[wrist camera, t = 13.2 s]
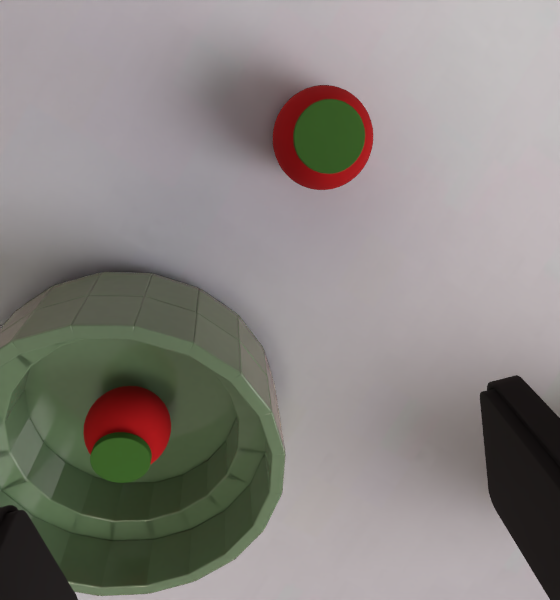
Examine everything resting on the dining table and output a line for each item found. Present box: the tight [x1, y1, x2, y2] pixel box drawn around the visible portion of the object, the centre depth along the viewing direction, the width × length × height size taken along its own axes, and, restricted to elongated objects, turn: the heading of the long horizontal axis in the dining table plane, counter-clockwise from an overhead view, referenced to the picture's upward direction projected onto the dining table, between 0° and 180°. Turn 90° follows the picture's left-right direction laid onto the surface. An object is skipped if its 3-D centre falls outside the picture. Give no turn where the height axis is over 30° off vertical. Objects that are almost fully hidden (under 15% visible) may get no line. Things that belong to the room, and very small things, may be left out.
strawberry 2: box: [273, 85, 373, 190], centre depth 21 cm, size 4×4×4 cm
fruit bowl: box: [0, 272, 285, 596], centre depth 25 cm, size 14×14×6 cm
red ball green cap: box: [83, 386, 171, 483], centre depth 25 cm, size 4×4×4 cm
